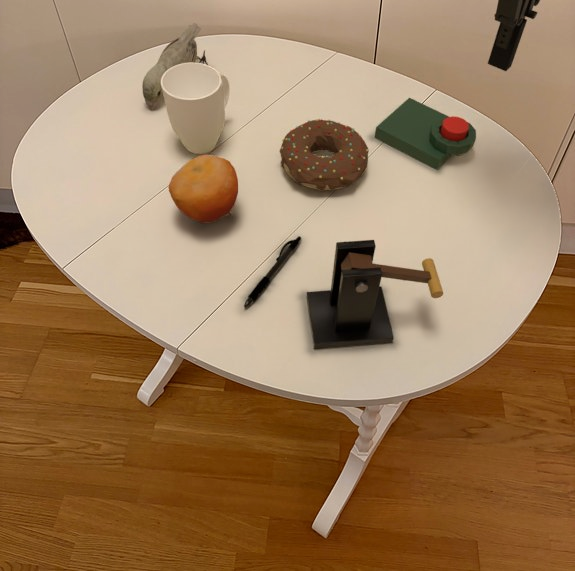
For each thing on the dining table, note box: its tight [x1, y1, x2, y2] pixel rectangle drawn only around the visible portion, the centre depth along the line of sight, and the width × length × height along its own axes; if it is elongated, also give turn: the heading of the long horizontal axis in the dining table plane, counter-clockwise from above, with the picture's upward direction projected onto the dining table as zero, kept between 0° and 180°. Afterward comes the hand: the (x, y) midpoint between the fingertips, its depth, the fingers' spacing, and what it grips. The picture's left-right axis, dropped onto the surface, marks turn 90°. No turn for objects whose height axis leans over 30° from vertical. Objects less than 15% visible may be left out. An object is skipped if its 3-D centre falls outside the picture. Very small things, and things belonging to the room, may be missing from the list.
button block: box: [373, 97, 477, 171], centre depth 96 cm, size 14×10×4 cm
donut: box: [278, 118, 370, 192], centre depth 92 cm, size 14×14×5 cm
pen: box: [243, 235, 302, 309], centre depth 81 cm, size 14×2×1 cm, turn 148°
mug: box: [161, 62, 231, 155], centre depth 93 cm, size 12×9×12 cm
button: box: [440, 115, 469, 142], centre depth 93 cm, size 4×4×2 cm
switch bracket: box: [306, 239, 395, 350], centre depth 72 cm, size 10×8×13 cm
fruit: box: [168, 154, 239, 225], centre depth 84 cm, size 10×9×10 cm
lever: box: [341, 252, 444, 299], centre depth 70 cm, size 12×5×2 cm, turn 96°
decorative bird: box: [141, 23, 209, 110], centre depth 103 cm, size 5×16×8 cm, turn 153°
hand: (499, 64), depth 79 cm, fingers closed
